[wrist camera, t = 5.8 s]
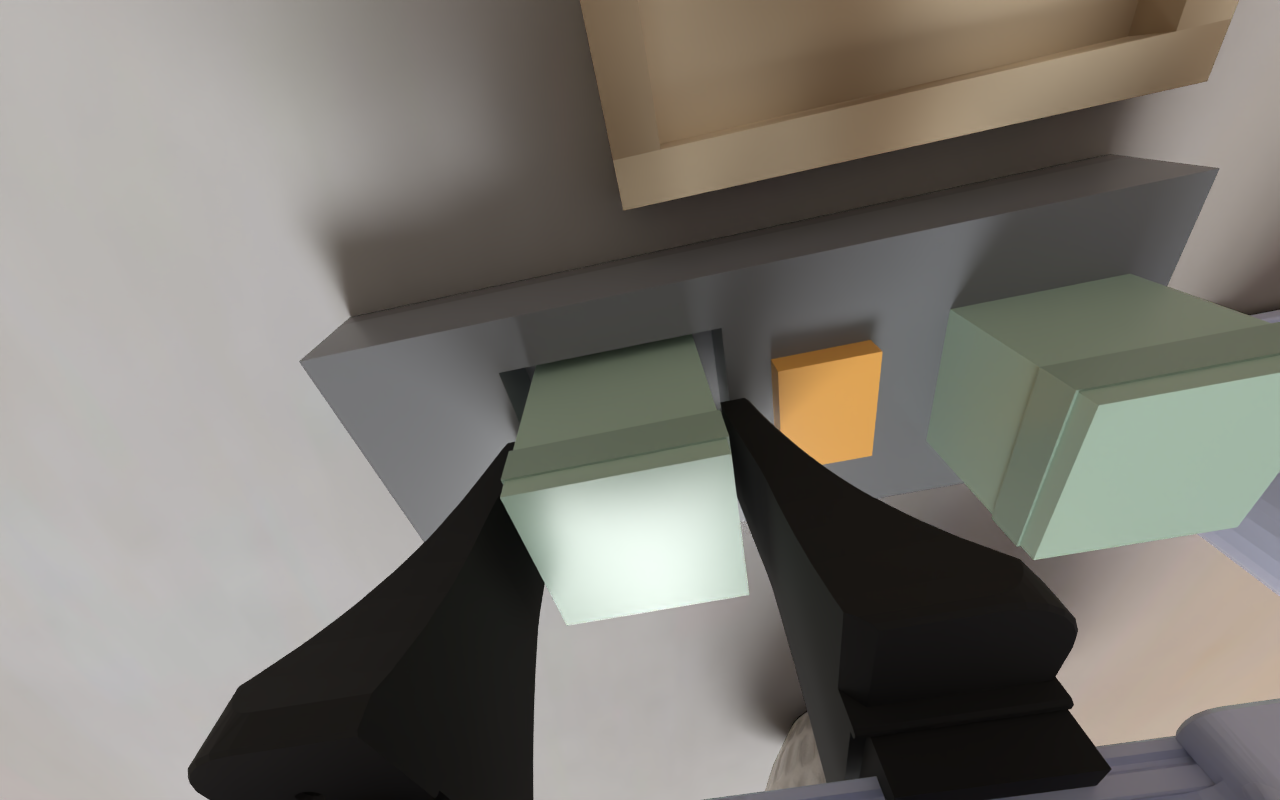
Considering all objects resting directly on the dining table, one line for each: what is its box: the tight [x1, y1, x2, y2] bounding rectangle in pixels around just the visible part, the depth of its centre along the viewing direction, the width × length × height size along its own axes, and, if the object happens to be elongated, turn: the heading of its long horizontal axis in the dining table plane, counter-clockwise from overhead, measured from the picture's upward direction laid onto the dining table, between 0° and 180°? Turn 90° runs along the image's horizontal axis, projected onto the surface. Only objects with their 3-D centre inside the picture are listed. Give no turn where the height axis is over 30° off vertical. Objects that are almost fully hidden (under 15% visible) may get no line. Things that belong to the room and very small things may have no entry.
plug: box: [500, 334, 749, 626], centre depth 12 cm, size 4×4×6 cm
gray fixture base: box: [299, 154, 1280, 560], centre depth 12 cm, size 20×8×6 cm, turn 101°
